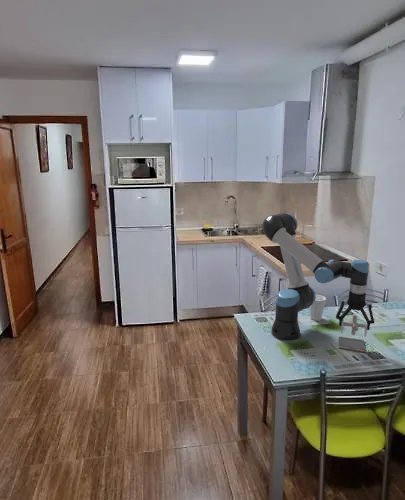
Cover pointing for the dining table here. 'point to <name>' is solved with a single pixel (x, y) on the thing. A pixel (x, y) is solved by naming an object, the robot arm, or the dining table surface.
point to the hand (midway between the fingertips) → (353, 333)
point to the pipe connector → (354, 324)
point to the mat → (352, 344)
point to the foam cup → (317, 307)
